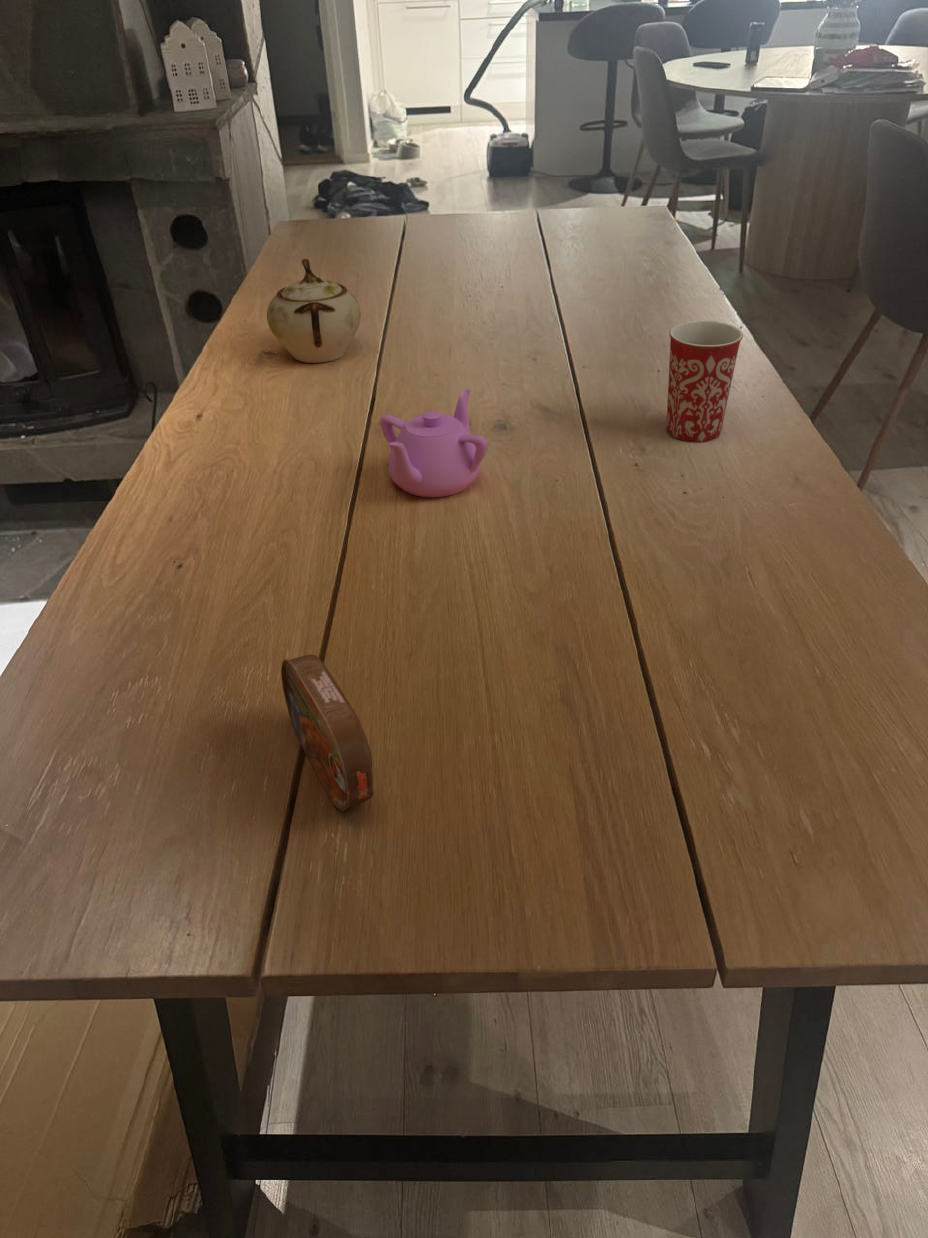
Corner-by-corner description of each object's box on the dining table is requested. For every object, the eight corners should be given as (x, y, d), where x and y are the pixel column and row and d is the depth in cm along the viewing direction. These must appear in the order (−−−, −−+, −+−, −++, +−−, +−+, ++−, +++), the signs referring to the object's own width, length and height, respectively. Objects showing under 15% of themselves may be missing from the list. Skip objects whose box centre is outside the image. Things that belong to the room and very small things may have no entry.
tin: (285, 717, 82) (270, 642, 77) (319, 705, 83) (306, 630, 78) (348, 834, 71) (334, 755, 66) (385, 818, 72) (375, 740, 67)
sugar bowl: (273, 338, 160) (258, 247, 151) (359, 329, 161) (350, 239, 152) (274, 381, 144) (258, 282, 135) (370, 371, 146) (360, 273, 137)
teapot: (394, 510, 110) (388, 442, 105) (382, 459, 121) (376, 395, 116) (492, 498, 112) (491, 431, 106) (471, 448, 123) (469, 385, 117)
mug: (737, 443, 121) (752, 342, 113) (668, 447, 121) (679, 346, 113) (711, 404, 131) (723, 309, 123) (647, 408, 131) (655, 312, 123)
